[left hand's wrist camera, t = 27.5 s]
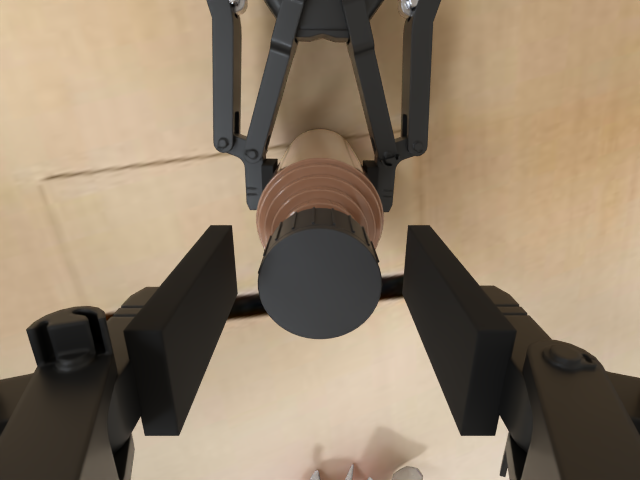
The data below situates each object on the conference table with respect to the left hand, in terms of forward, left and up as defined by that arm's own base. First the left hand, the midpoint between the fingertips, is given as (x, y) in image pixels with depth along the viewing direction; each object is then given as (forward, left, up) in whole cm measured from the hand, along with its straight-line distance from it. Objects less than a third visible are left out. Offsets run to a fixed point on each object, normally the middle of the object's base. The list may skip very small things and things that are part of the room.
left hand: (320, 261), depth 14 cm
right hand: (-4, -2, -13) cm, 14 cm away
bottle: (0, 0, -20) cm, 20 cm away
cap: (0, 0, +2) cm, 2 cm away
